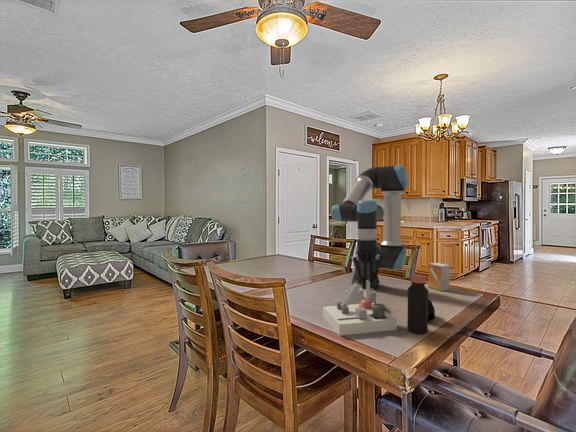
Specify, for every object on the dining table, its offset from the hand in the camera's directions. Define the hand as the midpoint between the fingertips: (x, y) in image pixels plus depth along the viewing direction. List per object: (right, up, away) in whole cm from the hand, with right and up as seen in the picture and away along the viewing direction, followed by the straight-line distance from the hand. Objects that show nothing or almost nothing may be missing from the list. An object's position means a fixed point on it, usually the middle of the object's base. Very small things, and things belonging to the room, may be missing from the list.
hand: (366, 296), depth 123 cm
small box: (+48, -6, +39) cm, 62 cm away
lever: (-10, -3, -4) cm, 12 cm away
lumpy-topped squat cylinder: (0, -8, +13) cm, 15 cm away
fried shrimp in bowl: (+22, -8, +2) cm, 24 cm away
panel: (-5, -8, -6) cm, 11 cm away
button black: (+2, -6, -10) cm, 12 cm away
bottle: (+15, -9, -13) cm, 22 cm away
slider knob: (-5, -4, -11) cm, 13 cm away
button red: (0, -7, 0) cm, 7 cm away
